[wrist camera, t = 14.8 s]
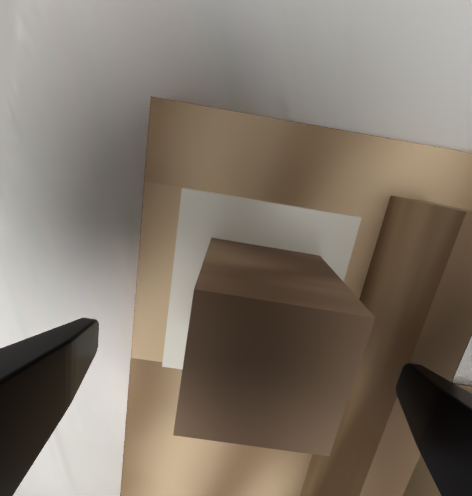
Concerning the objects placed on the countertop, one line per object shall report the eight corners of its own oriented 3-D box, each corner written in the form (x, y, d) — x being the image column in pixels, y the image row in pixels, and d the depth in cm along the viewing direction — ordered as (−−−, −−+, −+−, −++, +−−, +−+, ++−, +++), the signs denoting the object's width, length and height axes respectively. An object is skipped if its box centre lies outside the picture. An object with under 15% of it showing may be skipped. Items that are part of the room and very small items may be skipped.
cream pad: (358, 216, 12) (361, 217, 12) (312, 383, 14) (313, 387, 14) (183, 187, 12) (181, 188, 11) (163, 362, 14) (162, 366, 13)
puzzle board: (789, 214, 13) (1154, 249, 8) (555, 559, 20) (674, 706, 14) (161, 104, 12) (102, 59, 7) (126, 508, 18) (82, 647, 13)
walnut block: (319, 255, 12) (375, 317, 7) (295, 349, 13) (329, 456, 8) (211, 237, 12) (194, 289, 7) (196, 334, 13) (172, 435, 8)
